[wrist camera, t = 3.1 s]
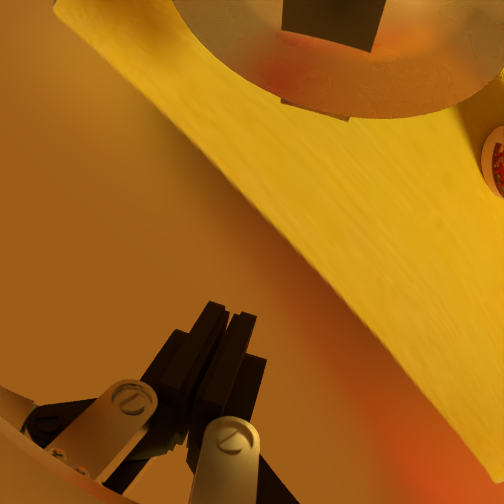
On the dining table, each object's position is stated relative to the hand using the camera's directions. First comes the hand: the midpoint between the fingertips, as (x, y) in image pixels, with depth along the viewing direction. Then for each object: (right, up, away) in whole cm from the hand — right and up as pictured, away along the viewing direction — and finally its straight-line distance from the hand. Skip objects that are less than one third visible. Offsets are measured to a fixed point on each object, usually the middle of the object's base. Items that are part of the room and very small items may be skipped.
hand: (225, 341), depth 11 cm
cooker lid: (+5, +15, -1) cm, 16 cm away
